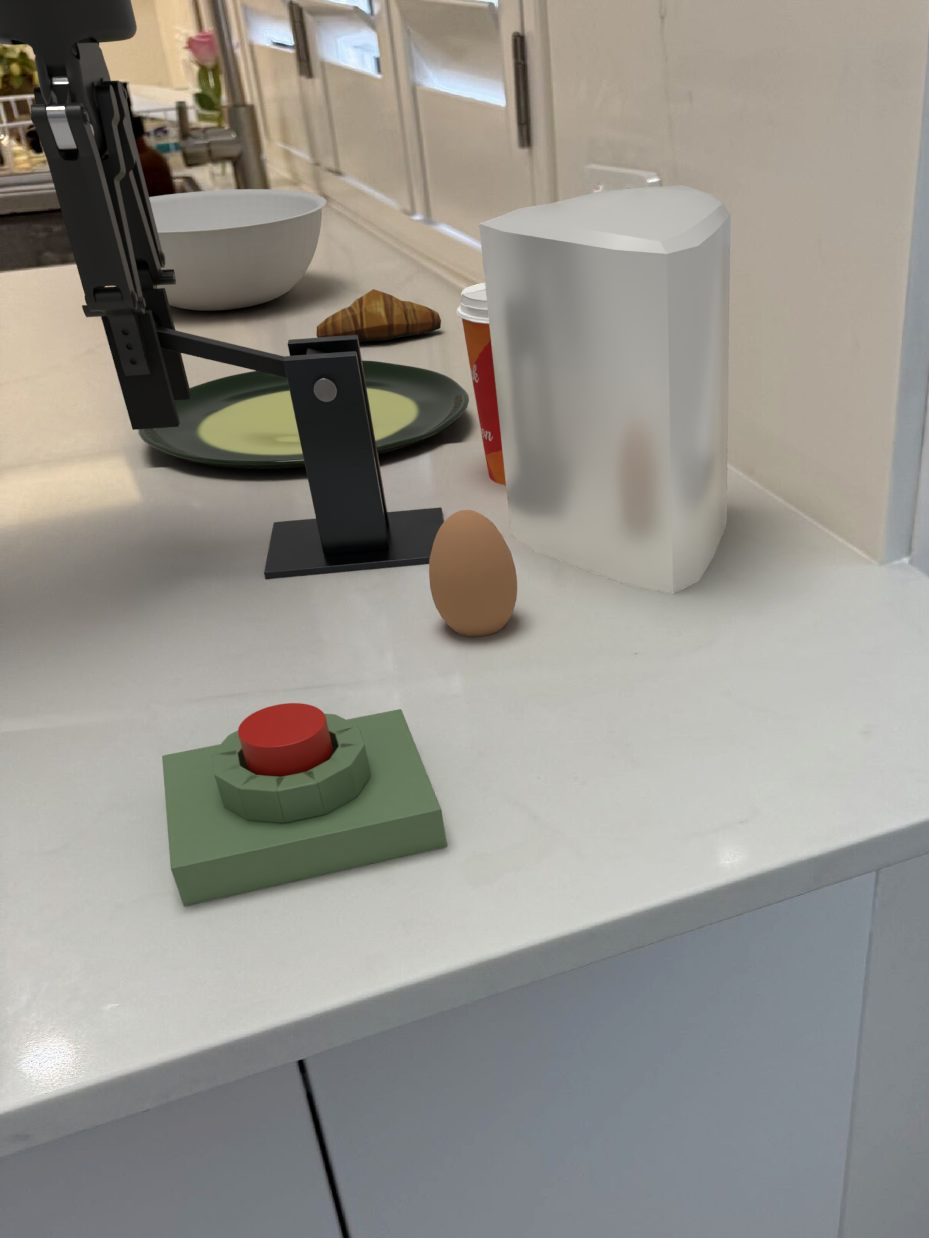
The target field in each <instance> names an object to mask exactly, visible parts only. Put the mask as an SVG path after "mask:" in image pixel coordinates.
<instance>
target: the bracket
mask: <svg viewBox="0 0 929 1238" xmlns="http://www.w3.org/2000/svg"><path fill="white" fill-rule="evenodd" d="M308 348H310V349H314V350H318V351H322V352H326V353H324V354H310V355H306V353H307V349H308ZM287 349H288V353H289V355H285V357H284V366H285V371H286V376H287V381H288V385H289V390H290V395H291V400H292V405H293V410H294V414H295V419H296V424H297V429H298V434H299V439H300V443H301V448H302V453H303V458H304V463H305V467H304V468H305V471H306V476H307V481H308V486H309V491H310V496H311V500H312V501H311V502H312V506H313V509H314V516H315V518H305V519H295V520H283V521H274V522H273V523H272V530H271V534H270V540H269V544H268V545H269V546H268V551H267V556H266V561H265V565H264V570H263V575H264V580H275V579H284V578H294V577H295V578H296V577H307V576H316V575H327V574H337V573H350V572H359V571H369V570H381V569H391V568H392V569H393V568H403V567H413V566H423V565H429V560H430V555H431V551H432V547H433V543H434V540H435V537H436V535H437V533H438V531H439V528H440V527H441V525H442V524H443V523H444V521H445V520H444V513H443V508H442V507H428V508H417V509H408V510H407V509H406V510H395V511H388V506H387V500H386V495H385V489H384V488H385V487H384V483H383V482H384V481H383V477H382V472H381V466H380V460H379V455H378V453H377V447H376V441H375V435H374V429H373V423H372V417H371V411H370V405H369V399H368V394H367V388H366V382H365V376H364V370H363V364H362V360H363V358H362V353H361V345H360V342H359V340H358V335H349V336H334V337H320V338H317V337H309V338H294V339H292V338H291V339H288V340H287Z"/></svg>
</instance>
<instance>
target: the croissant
mask: <svg viewBox="0 0 929 1238" xmlns="http://www.w3.org/2000/svg"><path fill="white" fill-rule="evenodd" d="M441 326H442V319H441V316H440V314H439V311H435V310H434V309H432V308H430V307H428V306H425V305H422V304H419V303H416V302H412V301H409V300H408V301H407V300H401V299H400V298H398V297H396V296H394V295H392V294H389V293H386V292H384V291H380V290H377V289H371V290H370V291H368V292H366V293H364V294H362V296H360V297H358V298H356V299H355V300H354V301H353V302H352V303H351V304H350V306H347V307H344V308H342V309H340V310H338V311H337V312H334V313H333V314H332V315H329V316H328V317H326V318H325V319H324V320H323V321H321V322H320V323H319V324H318V325H317V326H316V333H315V334H316V335H315V336H316V338H320V337H334V336H349V335H358V340H359V343H365V342H377V341H378V342H380V341H381V342H382V341H389V340H394V339H398V338H405V337H410V336H418V335H423V334H429V333H432V332H434V331H438V330H440V329H441V328H442V327H441Z"/></svg>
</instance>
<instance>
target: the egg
mask: <svg viewBox="0 0 929 1238" xmlns="http://www.w3.org/2000/svg"><path fill="white" fill-rule="evenodd" d="M443 521H444V523H443V524H442V525H441V527H440V528H439V531H438V533H437V535H436V537H435V540H434V543H433V547H432V551H431V555H430V560H429V564H428V577H429V589H430V593H431V597H432V600H433V604H434V606H435V608H436V610H437V612H438V614H439V616H440V617H441V618H442V620H443V621H444V622H445V623H446V625H448V626H449V627H450V628H451V629H452V630H453V631H454V632H455V633H457V634H458V635H461V636H466V637H472V638H473V637H486V636H489V635H492V634H493V635H494V634H496V633H498V632H499V631H501V630H502V629H504V627H505V626H506V625H507V623H508V622H509V621H510V619H511V617H512V615H513V612H514V609H515V607H516V604H517V597H518V577H517V570H516V566H515V562H514V558H513V555H512V551H511V549H510V548H509V546H508V544H507V542H506V540H505V538H504V536H503V534H502V533H501V532H500V530H499V529H498V527H497V526H496V525H495V524H494V522H492V520H491V519H489V518H488V517H487V516H485V515H483V514H481V513H480V512H478V511H475V510H472V509H464V510H463V509H461V510H458V511H456V512H454V513H452V514H451V515H450V516H448V517H447V518H446V519H445V520H443Z"/></svg>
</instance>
